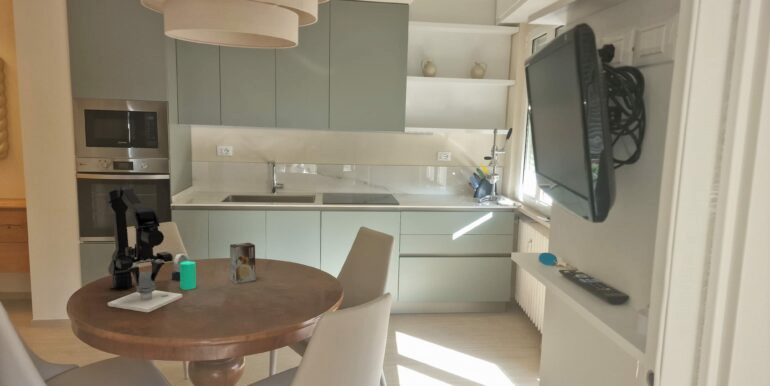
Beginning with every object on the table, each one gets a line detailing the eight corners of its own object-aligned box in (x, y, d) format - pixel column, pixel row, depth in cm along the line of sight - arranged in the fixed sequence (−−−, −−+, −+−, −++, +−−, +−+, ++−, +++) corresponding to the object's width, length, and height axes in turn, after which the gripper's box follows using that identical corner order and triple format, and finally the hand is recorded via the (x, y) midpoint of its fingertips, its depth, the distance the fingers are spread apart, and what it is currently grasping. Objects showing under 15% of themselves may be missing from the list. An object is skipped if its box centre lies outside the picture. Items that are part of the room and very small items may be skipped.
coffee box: (249, 277, 225) (249, 242, 223) (255, 280, 220) (255, 244, 218) (229, 280, 219) (229, 244, 217) (235, 284, 214) (235, 247, 213)
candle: (190, 290, 204) (190, 261, 203) (177, 288, 206) (176, 260, 204) (198, 286, 210) (198, 258, 209) (185, 284, 211) (185, 256, 210)
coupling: (154, 292, 187) (154, 276, 186) (135, 294, 184) (135, 278, 184) (156, 286, 195) (155, 270, 194) (137, 287, 192) (137, 271, 192)
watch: (191, 276, 223) (190, 252, 222) (182, 281, 215) (181, 256, 214) (179, 275, 224) (178, 251, 223) (169, 280, 216) (169, 255, 215)
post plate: (107, 305, 184) (107, 295, 183) (144, 291, 201) (144, 281, 200) (148, 312, 179) (147, 301, 178) (182, 297, 196) (182, 287, 195)
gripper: (160, 235, 199) (161, 273, 201) (109, 241, 186) (111, 282, 187) (172, 239, 192) (173, 279, 193) (120, 246, 178) (122, 289, 180)
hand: (145, 282), depth 189 cm, fingers closed on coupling, 5 cm apart
